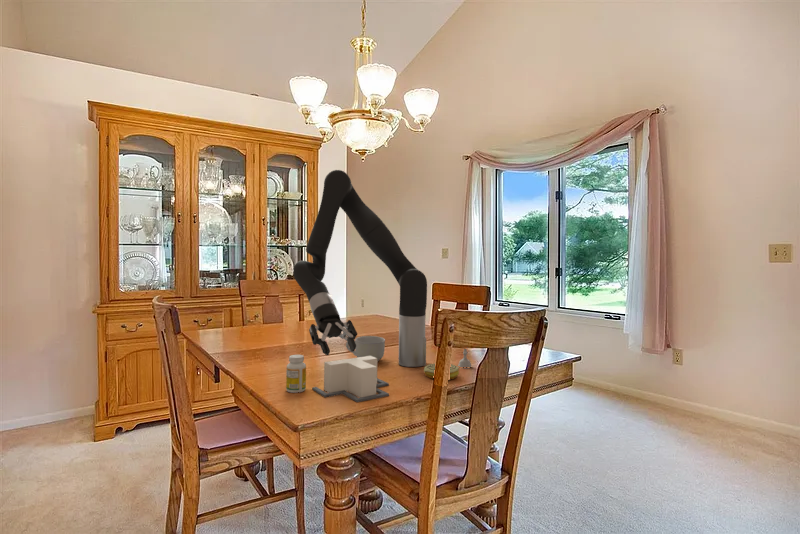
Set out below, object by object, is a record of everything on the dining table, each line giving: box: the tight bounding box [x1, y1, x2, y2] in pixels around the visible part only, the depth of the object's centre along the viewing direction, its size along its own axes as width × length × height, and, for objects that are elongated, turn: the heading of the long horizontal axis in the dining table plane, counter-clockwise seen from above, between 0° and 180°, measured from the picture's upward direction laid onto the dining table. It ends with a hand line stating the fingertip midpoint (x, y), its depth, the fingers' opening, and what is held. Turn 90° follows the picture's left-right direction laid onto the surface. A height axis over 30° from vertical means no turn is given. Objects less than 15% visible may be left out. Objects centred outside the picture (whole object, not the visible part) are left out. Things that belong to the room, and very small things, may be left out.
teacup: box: [345, 335, 386, 362], centre depth 161 cm, size 14×11×8 cm
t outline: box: [311, 377, 390, 403], centre depth 125 cm, size 16×20×1 cm
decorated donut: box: [423, 363, 460, 380], centre depth 141 cm, size 10×11×4 cm
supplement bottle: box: [285, 354, 307, 394], centre depth 125 cm, size 5×5×10 cm
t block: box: [323, 356, 378, 398], centre depth 125 cm, size 12×15×8 cm
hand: (341, 351), depth 134 cm, fingers open, 8 cm apart
